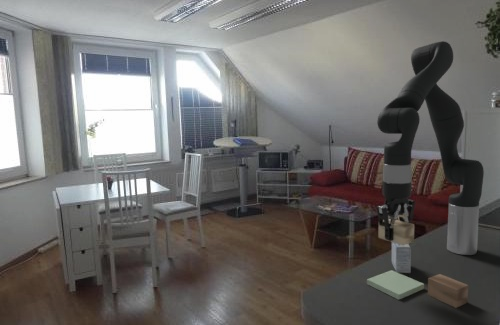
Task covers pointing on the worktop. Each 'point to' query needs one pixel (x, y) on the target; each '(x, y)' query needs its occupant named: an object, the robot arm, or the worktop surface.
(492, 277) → the worktop surface
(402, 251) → the medicine box
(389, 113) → the robot arm
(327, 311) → the worktop surface
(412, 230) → the birch brick
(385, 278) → the baseplate
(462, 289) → the walnut brick
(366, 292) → the worktop surface
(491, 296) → the worktop surface
